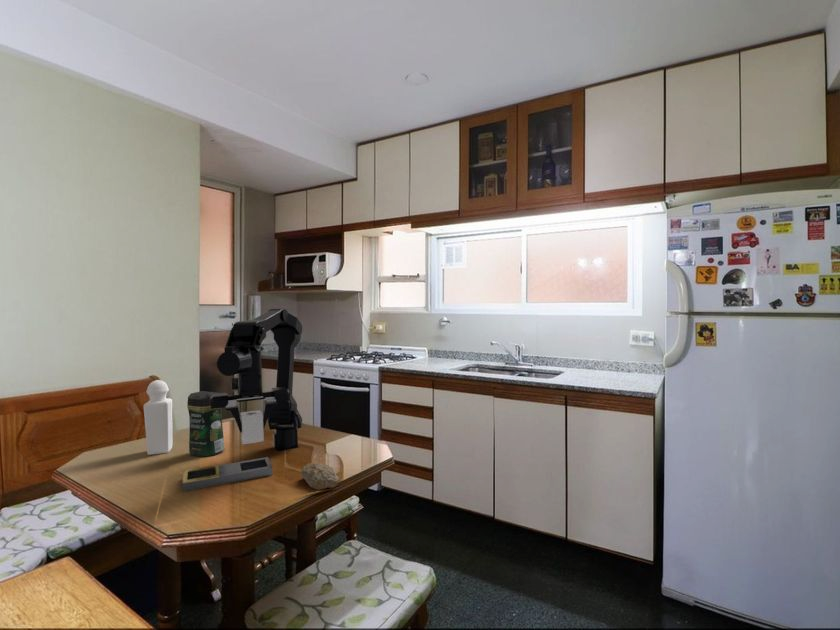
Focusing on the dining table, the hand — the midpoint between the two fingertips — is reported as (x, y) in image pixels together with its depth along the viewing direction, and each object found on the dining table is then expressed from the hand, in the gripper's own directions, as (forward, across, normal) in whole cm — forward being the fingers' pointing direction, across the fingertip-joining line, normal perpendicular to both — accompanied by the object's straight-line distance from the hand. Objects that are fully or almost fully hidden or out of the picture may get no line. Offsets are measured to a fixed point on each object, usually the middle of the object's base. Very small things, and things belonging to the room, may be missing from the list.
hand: (252, 430), depth 112 cm
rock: (+12, -14, +15) cm, 24 cm away
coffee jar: (+12, +11, -26) cm, 31 cm away
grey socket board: (+11, +6, 0) cm, 13 cm away
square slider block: (+2, 0, 0) cm, 2 cm away
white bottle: (+12, +24, -36) cm, 45 cm away
